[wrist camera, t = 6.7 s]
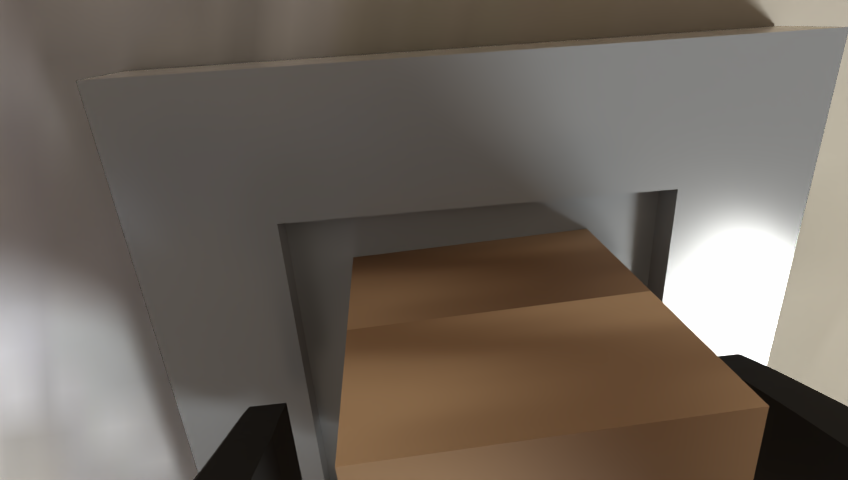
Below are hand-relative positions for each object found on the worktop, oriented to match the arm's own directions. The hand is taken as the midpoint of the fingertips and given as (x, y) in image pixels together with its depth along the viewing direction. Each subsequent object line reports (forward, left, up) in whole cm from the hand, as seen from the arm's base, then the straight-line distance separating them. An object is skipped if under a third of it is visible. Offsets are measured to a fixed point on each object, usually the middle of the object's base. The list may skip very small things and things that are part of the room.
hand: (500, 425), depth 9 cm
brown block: (0, 0, -2) cm, 2 cm away
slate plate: (0, 0, -3) cm, 3 cm away
